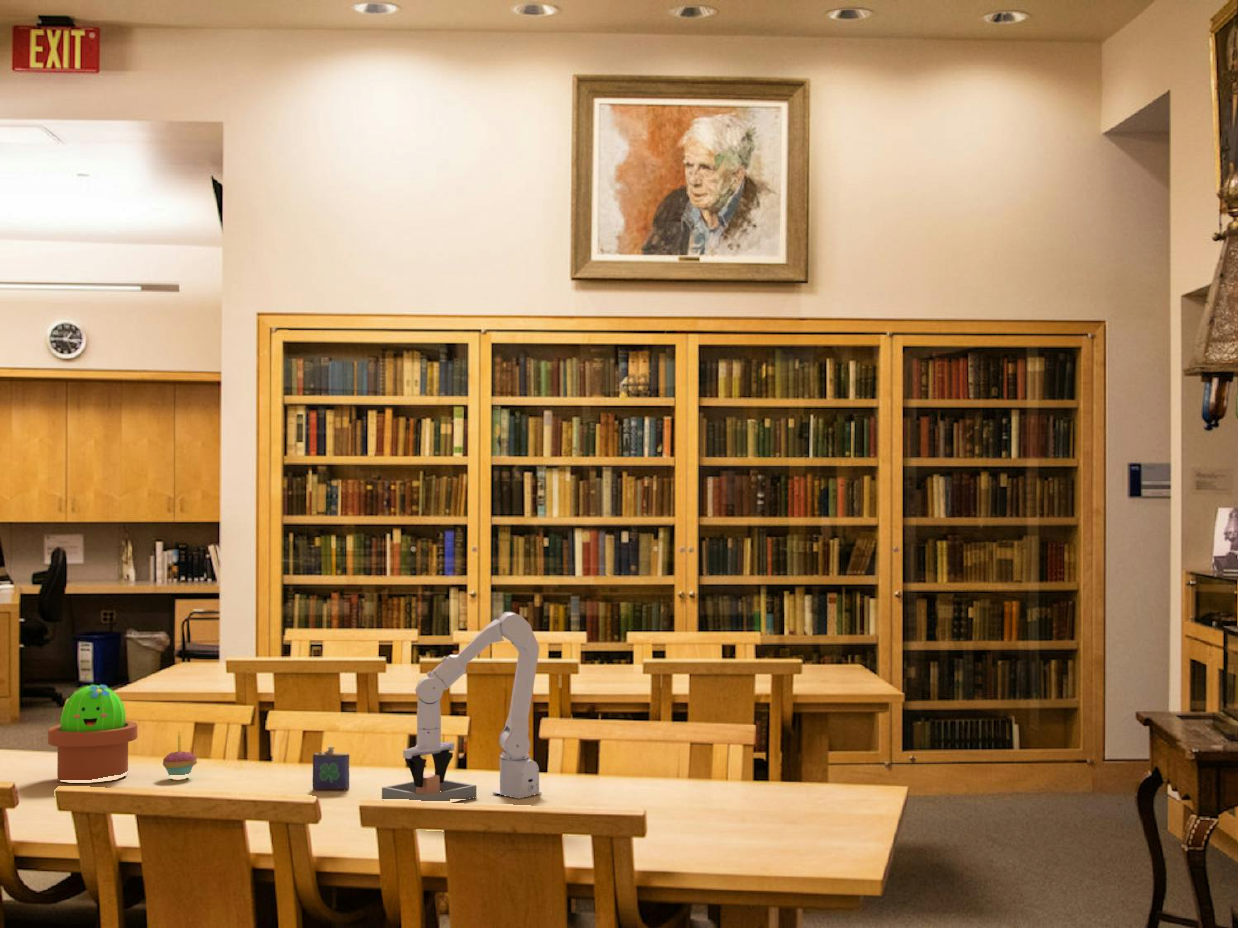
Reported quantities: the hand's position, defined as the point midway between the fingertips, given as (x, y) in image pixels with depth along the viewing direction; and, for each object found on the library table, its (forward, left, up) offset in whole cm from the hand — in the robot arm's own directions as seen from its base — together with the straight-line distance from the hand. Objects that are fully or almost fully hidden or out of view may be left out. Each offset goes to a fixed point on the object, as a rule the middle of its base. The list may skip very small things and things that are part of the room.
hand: (429, 784), depth 331 cm
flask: (+28, +8, -4) cm, 29 cm away
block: (0, 0, -3) cm, 3 cm away
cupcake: (+71, +24, -4) cm, 75 cm away
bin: (0, 0, -3) cm, 3 cm away
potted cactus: (+90, +38, -4) cm, 98 cm away
